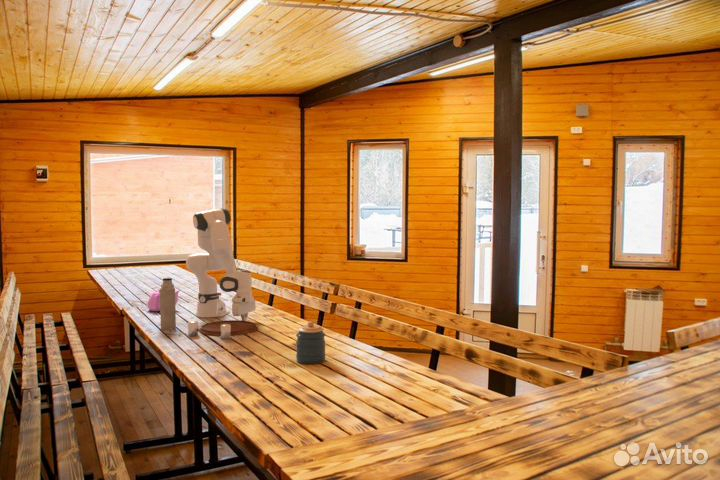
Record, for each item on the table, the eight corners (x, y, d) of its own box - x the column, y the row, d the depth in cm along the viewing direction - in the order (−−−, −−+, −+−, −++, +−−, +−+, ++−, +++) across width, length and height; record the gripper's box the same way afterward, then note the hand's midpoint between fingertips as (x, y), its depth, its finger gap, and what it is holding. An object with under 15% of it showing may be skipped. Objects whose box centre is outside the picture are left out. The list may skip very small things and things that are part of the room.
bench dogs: (192, 333, 298) (192, 320, 298) (232, 337, 290) (232, 324, 289) (186, 335, 294) (186, 322, 293) (227, 339, 285) (227, 326, 285)
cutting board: (243, 338, 290) (243, 333, 290) (187, 335, 297) (187, 330, 297) (266, 325, 321) (266, 321, 321) (215, 323, 328) (215, 318, 328)
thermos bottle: (164, 326, 317) (163, 277, 315) (178, 326, 316) (177, 277, 314) (158, 329, 309) (157, 279, 307) (172, 329, 308) (171, 279, 307)
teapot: (175, 313, 356) (175, 291, 355) (141, 313, 356) (141, 291, 355) (186, 307, 377) (186, 286, 377) (154, 307, 378) (154, 286, 377)
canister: (310, 355, 256) (310, 317, 255) (331, 360, 248) (331, 320, 247) (290, 361, 246) (289, 321, 245) (311, 366, 238) (311, 325, 237)
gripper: (248, 294, 334) (249, 317, 335) (229, 299, 315) (230, 324, 316) (258, 295, 332) (258, 318, 333) (239, 300, 313) (239, 324, 314)
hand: (244, 321), depth 324 cm, fingers closed
